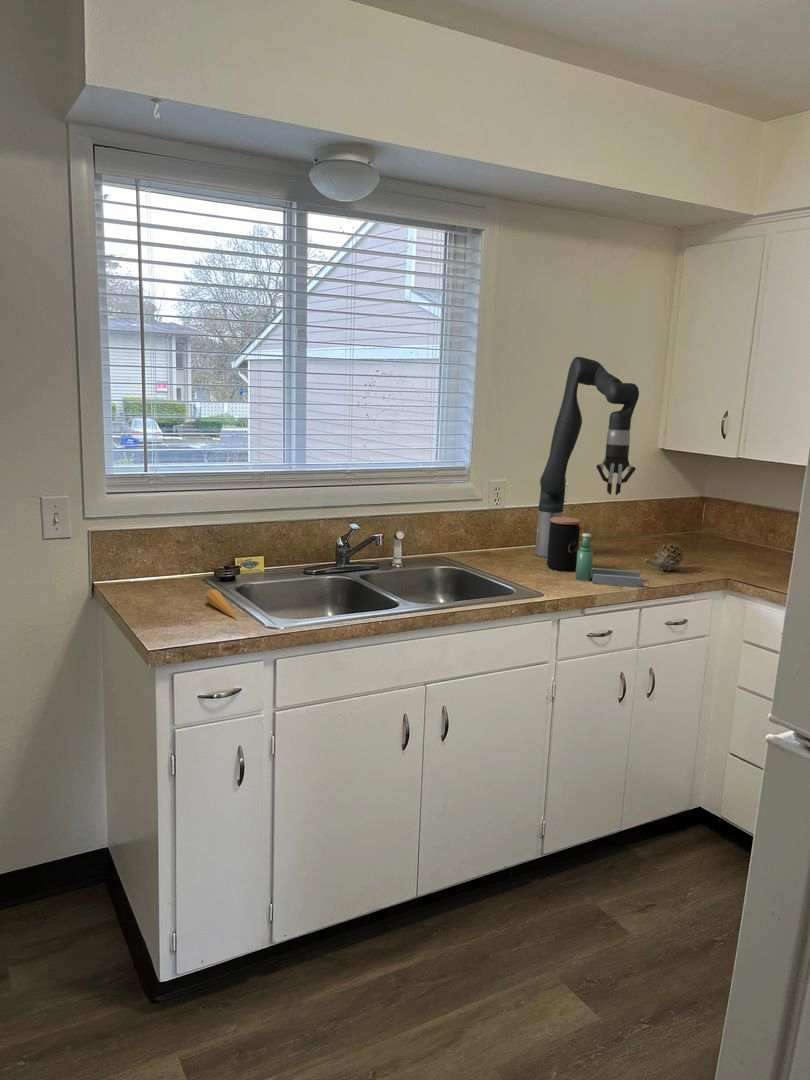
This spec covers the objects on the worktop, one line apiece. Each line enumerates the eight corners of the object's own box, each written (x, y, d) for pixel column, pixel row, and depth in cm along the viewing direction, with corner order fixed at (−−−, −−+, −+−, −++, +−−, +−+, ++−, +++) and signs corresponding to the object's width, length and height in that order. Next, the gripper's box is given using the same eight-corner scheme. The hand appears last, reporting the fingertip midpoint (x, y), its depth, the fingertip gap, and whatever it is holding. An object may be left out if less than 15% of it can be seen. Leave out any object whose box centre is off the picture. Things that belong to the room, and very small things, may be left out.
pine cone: (664, 565, 309) (667, 539, 307) (688, 569, 302) (691, 543, 300) (634, 573, 293) (637, 545, 291) (659, 578, 287) (662, 550, 285)
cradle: (592, 583, 275) (593, 575, 275) (591, 576, 286) (591, 567, 285) (642, 587, 273) (643, 578, 272) (638, 579, 283) (639, 571, 283)
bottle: (575, 580, 279) (579, 535, 276) (575, 576, 284) (578, 532, 281) (591, 581, 278) (595, 536, 275) (590, 578, 283) (594, 533, 280)
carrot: (206, 604, 235) (201, 591, 233) (221, 597, 237) (215, 584, 235) (232, 630, 219) (226, 617, 217) (247, 622, 221) (241, 609, 219)
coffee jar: (570, 573, 288) (574, 523, 285) (541, 568, 294) (545, 519, 290) (580, 568, 297) (585, 519, 294) (553, 563, 303) (556, 515, 299)
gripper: (597, 442, 274) (593, 494, 277) (640, 445, 272) (635, 497, 275) (596, 441, 281) (592, 491, 285) (637, 443, 279) (632, 494, 282)
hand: (613, 494), depth 280 cm, fingers closed
